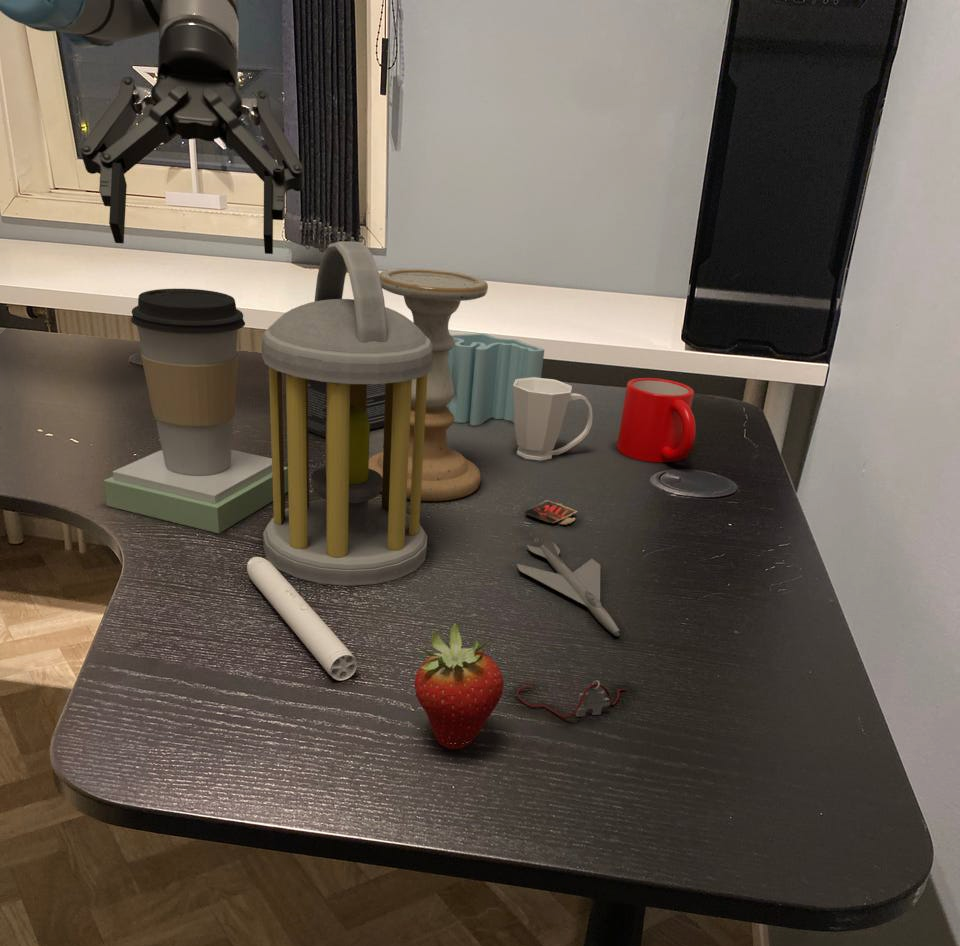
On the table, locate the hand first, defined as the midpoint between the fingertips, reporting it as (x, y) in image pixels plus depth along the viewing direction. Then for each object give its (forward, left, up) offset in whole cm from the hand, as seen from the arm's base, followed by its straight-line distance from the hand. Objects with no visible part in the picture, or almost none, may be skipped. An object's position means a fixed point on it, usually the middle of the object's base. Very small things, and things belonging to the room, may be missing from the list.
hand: (193, 239), depth 85 cm
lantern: (+22, -12, -22) cm, 33 cm away
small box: (+6, +19, -22) cm, 29 cm away
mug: (+42, +30, -22) cm, 56 cm away
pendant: (+47, -26, -22) cm, 58 cm away
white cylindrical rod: (+25, -25, -22) cm, 42 cm away
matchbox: (+36, +5, -22) cm, 43 cm away
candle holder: (+21, +7, -22) cm, 31 cm away
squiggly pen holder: (+16, +30, -22) cm, 41 cm away
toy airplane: (+41, -8, -22) cm, 47 cm away
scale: (+5, -9, -21) cm, 24 cm away
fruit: (+41, -34, -22) cm, 58 cm away
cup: (+30, +23, -22) cm, 44 cm away
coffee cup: (+5, -9, -18) cm, 21 cm away
